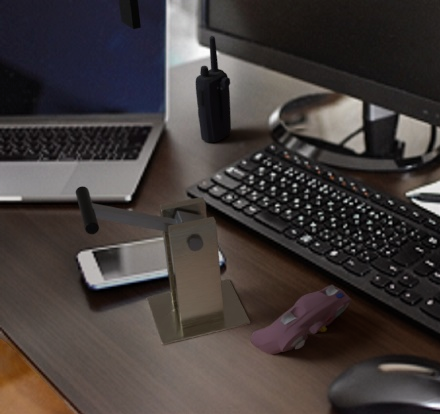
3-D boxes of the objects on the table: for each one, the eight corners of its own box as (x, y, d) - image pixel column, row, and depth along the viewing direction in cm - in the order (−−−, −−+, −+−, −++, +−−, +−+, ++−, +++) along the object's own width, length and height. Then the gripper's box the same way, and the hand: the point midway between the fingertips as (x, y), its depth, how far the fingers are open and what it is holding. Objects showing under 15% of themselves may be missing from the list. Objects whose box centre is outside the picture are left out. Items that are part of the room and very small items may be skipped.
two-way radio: (218, 127, 126) (211, 30, 118) (243, 133, 124) (237, 36, 116) (195, 141, 122) (186, 42, 114) (220, 148, 120) (212, 48, 112)
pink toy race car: (273, 378, 81) (294, 343, 76) (243, 343, 82) (262, 306, 77) (341, 330, 87) (366, 295, 82) (313, 298, 88) (335, 261, 83)
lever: (81, 239, 73) (89, 215, 73) (72, 201, 79) (79, 179, 78) (206, 260, 79) (215, 239, 78) (189, 224, 85) (197, 203, 84)
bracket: (163, 352, 82) (148, 244, 75) (147, 306, 88) (132, 202, 82) (251, 331, 85) (244, 224, 78) (229, 287, 91) (221, 185, 85)
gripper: (-154, -215, 55) (-75, 84, 66) (184, -233, 67) (204, 23, 78) (-173, -222, 60) (-97, 56, 71) (144, -237, 73) (167, 3, 84)
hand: (60, 39), depth 75 cm, fingers open, 13 cm apart
